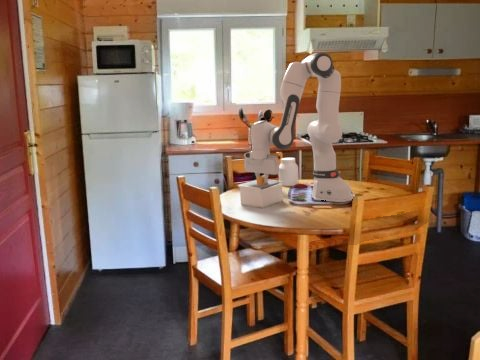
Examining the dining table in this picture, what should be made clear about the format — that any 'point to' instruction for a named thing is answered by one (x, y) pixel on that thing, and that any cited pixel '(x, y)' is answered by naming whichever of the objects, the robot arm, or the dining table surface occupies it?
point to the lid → (259, 183)
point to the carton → (261, 195)
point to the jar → (288, 172)
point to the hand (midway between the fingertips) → (262, 181)
